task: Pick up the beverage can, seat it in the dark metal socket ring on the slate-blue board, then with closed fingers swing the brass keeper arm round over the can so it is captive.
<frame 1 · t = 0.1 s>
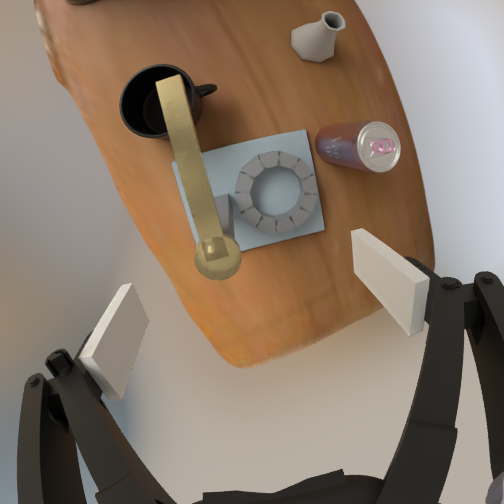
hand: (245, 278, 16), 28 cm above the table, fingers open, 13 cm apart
beverage can: (331, 144, 40), on the table
keeper: (195, 180, 20), point 21 cm above the table, hinge at 90.0°
mug: (178, 106, 36), on the table
seat board: (251, 194, 42), on the table
flask: (311, 43, 34), on the table
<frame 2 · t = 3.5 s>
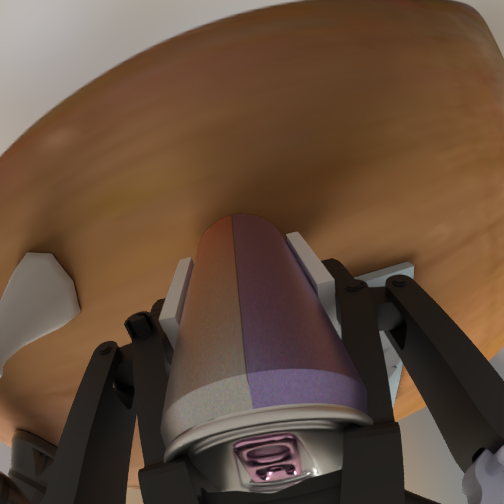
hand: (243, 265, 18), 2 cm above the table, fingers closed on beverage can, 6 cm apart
beverage can: (241, 253, 20), on the table, touching gripper
seat board: (327, 374, 25), on the table
flask: (47, 288, 19), on the table
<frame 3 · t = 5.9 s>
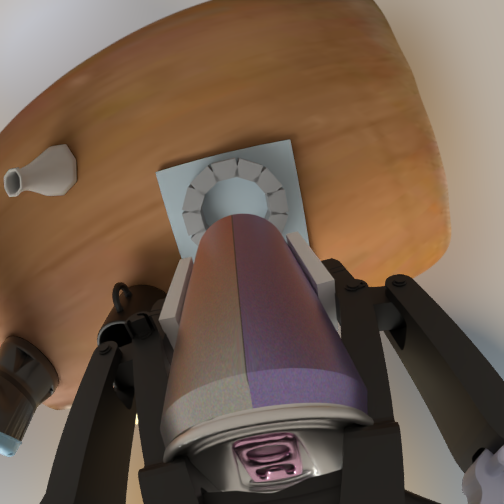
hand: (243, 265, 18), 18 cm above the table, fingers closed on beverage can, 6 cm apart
beverage can: (241, 252, 20), point 16 cm above the table, touching gripper
keeper: (186, 407, 17), point 21 cm above the table, hinge at 90.0°
mug: (144, 304, 38), on the table
seat board: (241, 232, 35), on the table
flask: (58, 170, 30), on the table
when the fingers open (4 cm above the table, at t = 8.5 s): beverage can drops 1 cm, resting on seat board.
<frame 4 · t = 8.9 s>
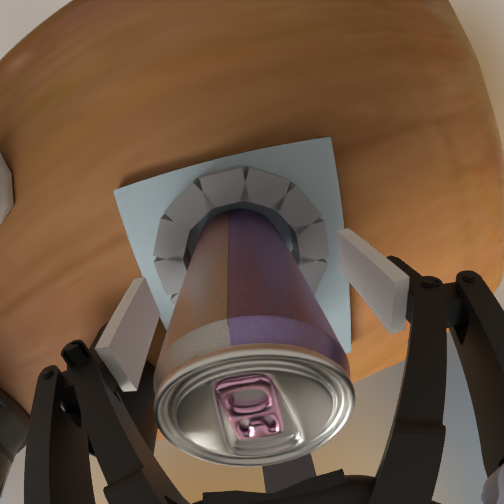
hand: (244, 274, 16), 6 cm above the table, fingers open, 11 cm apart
beverage can: (239, 246, 21), point 1 cm above the table, touching seat board
mug: (118, 367, 26), on the table
seat board: (249, 281, 23), on the table
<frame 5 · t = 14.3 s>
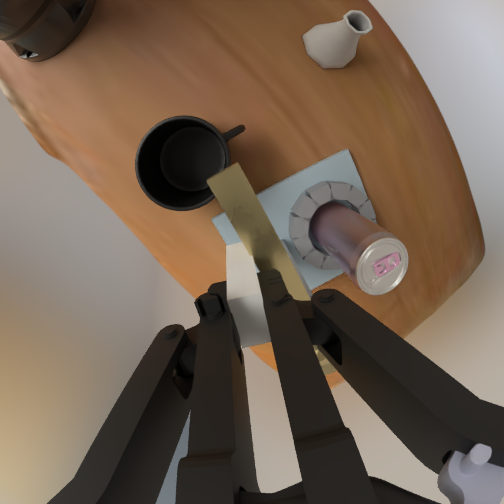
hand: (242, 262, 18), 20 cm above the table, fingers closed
beverage can: (329, 222, 37), point 1 cm above the table, touching seat board
keeper: (289, 290, 17), point 21 cm above the table, hinge at 90.0°, touching gripper
mug: (201, 153, 34), on the table
seat board: (305, 232, 39), on the table
flask: (328, 47, 29), on the table
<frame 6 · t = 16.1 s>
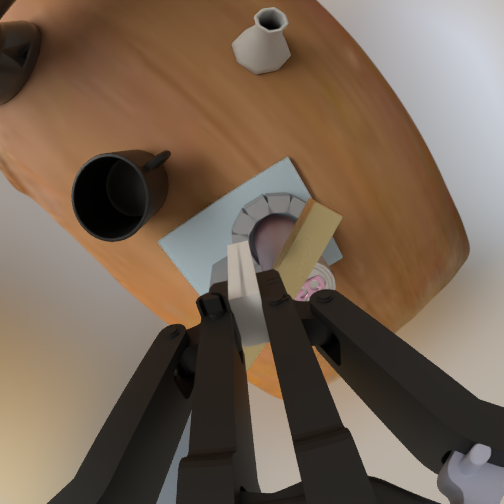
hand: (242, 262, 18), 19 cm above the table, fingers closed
beverage can: (276, 235, 37), point 1 cm above the table, touching seat board
keeper: (260, 321, 17), point 21 cm above the table, hinge at 31.8°, touching gripper
mug: (142, 179, 34), on the table
seat board: (253, 247, 38), on the table
flask: (261, 50, 29), on the table
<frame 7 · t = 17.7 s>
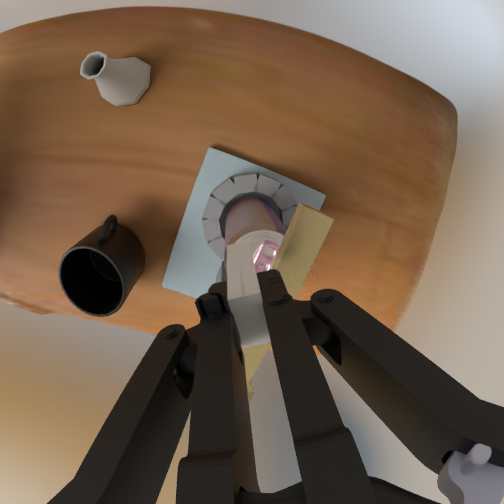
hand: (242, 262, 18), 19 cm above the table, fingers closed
beverage can: (249, 217, 36), point 1 cm above the table, touching seat board
keeper: (260, 327, 17), point 21 cm above the table, hinge at 0.8°, touching gripper
mug: (117, 245, 37), on the table
seat board: (239, 239, 38), on the table
flask: (126, 81, 29), on the table
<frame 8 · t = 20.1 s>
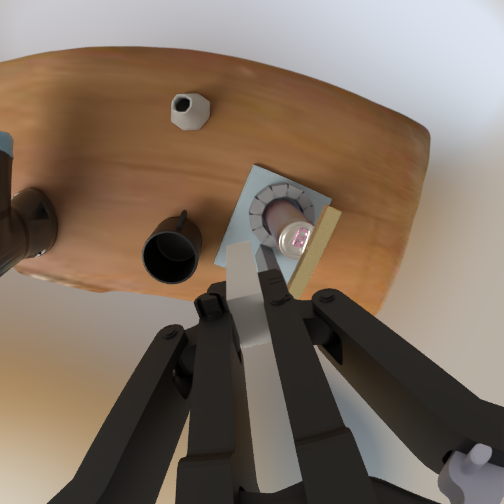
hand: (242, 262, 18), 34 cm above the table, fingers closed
beverage can: (280, 213, 52), point 1 cm above the table, touching seat board
keeper: (304, 269, 33), point 21 cm above the table, hinge at 0.8°
mug: (179, 233, 53), on the table
seat board: (272, 229, 54), on the table
flask: (190, 111, 45), on the table
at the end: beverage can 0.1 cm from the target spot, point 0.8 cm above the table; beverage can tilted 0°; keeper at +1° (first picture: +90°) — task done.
